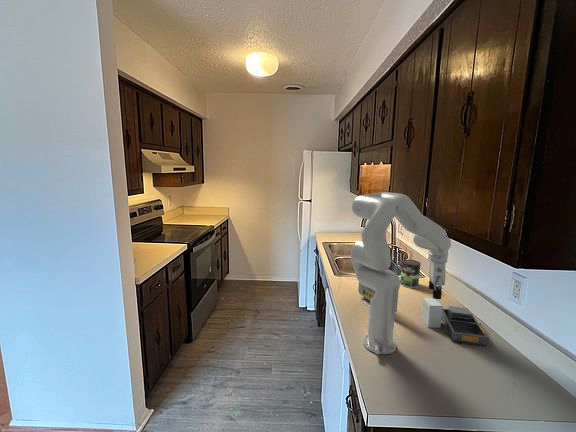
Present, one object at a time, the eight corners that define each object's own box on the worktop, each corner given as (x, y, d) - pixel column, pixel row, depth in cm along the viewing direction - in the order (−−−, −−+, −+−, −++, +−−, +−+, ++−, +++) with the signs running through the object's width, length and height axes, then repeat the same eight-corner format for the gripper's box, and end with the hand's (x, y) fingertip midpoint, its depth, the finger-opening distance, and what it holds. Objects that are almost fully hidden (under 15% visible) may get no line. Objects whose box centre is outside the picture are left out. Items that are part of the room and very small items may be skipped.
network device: (400, 316, 143) (403, 276, 139) (385, 319, 139) (388, 279, 136) (367, 294, 166) (369, 259, 162) (353, 296, 163) (355, 261, 159)
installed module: (470, 327, 132) (472, 314, 131) (450, 324, 135) (451, 312, 133) (466, 320, 138) (467, 308, 137) (447, 317, 140) (448, 305, 139)
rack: (487, 347, 120) (488, 337, 119) (452, 342, 123) (453, 332, 122) (469, 320, 140) (470, 311, 140) (440, 316, 144) (441, 307, 143)
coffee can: (416, 289, 173) (418, 266, 170) (397, 285, 179) (399, 262, 176) (420, 284, 181) (422, 261, 179) (402, 279, 187) (404, 258, 185)
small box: (440, 328, 133) (443, 306, 131) (427, 327, 133) (430, 305, 132) (433, 318, 141) (435, 297, 139) (421, 318, 141) (423, 297, 139)
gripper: (452, 264, 122) (448, 303, 126) (442, 252, 139) (439, 286, 142) (432, 263, 124) (428, 301, 128) (425, 250, 141) (422, 285, 144)
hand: (434, 293), depth 135 cm, fingers open, 9 cm apart
